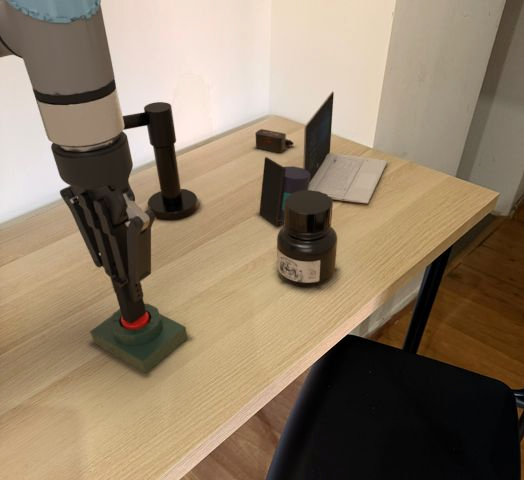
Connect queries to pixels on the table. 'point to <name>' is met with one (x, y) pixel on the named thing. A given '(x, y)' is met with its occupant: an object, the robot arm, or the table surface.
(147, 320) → the button
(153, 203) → the round black base
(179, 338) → the control box
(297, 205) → the ink bottle
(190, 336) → the table surface
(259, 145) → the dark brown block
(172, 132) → the crank handle
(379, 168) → the laptop
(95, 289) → the table surface
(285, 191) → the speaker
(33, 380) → the table surface
